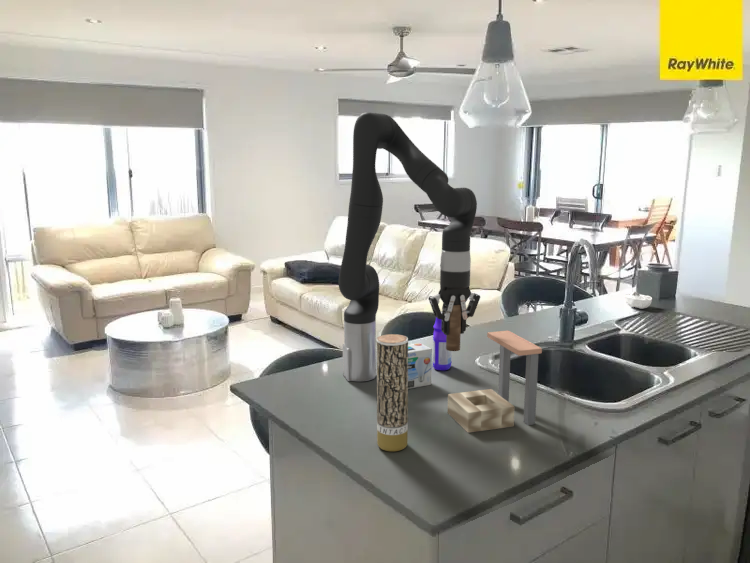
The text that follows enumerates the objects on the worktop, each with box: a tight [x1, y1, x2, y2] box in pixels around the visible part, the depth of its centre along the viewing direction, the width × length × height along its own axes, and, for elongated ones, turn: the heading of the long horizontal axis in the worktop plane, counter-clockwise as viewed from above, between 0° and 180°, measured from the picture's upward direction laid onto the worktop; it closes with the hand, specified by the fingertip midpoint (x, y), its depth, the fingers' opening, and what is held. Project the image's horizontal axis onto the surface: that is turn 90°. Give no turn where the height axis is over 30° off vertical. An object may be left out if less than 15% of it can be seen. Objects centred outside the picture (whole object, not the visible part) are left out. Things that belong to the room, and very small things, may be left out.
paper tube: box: [376, 333, 409, 453], centre depth 135 cm, size 7×7×25 cm
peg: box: [446, 305, 462, 352], centre depth 158 cm, size 4×4×12 cm
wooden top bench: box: [486, 330, 543, 426], centre depth 153 cm, size 6×16×19 cm, turn 17°
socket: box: [447, 388, 515, 433], centre depth 151 cm, size 12×12×5 cm
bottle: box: [432, 310, 452, 371], centre depth 187 cm, size 7×6×17 cm
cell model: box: [624, 291, 653, 310], centre depth 261 cm, size 10×12×7 cm
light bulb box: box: [408, 342, 433, 390], centre depth 174 cm, size 11×7×11 cm, turn 117°
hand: (453, 333), depth 158 cm, fingers closed on peg, 3 cm apart
